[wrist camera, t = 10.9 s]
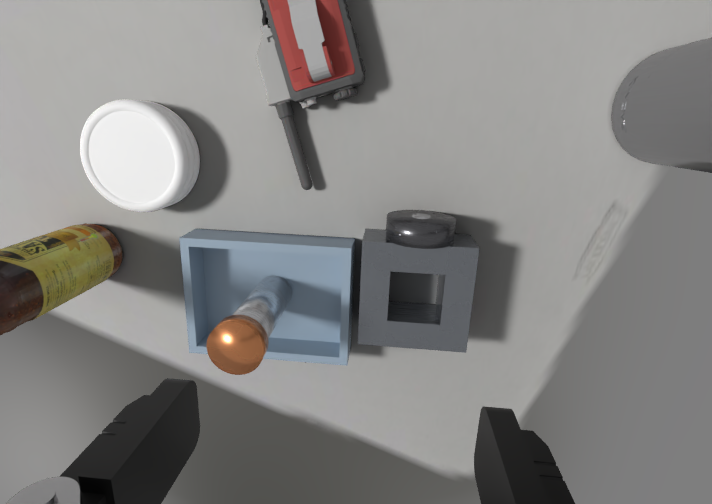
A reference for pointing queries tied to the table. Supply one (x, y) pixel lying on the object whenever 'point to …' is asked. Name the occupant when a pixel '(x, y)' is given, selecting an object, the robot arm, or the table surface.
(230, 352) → the lock pin
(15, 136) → the table surface
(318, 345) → the tray
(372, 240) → the block
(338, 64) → the walkie-talkie
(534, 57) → the table surface
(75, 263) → the sauce bottle
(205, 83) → the table surface
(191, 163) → the white round disc stack
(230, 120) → the table surface
